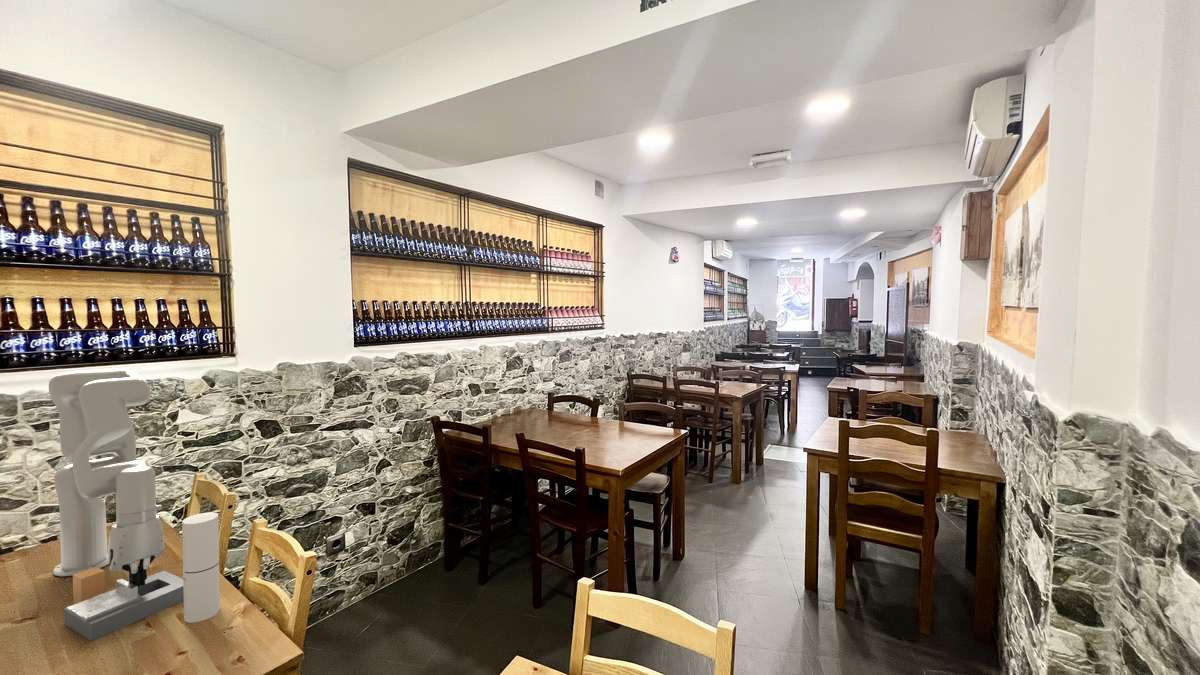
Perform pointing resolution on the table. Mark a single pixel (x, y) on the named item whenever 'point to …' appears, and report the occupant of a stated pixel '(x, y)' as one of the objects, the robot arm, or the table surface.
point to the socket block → (132, 607)
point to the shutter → (106, 601)
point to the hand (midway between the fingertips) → (138, 584)
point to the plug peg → (88, 584)
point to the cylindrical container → (201, 566)
